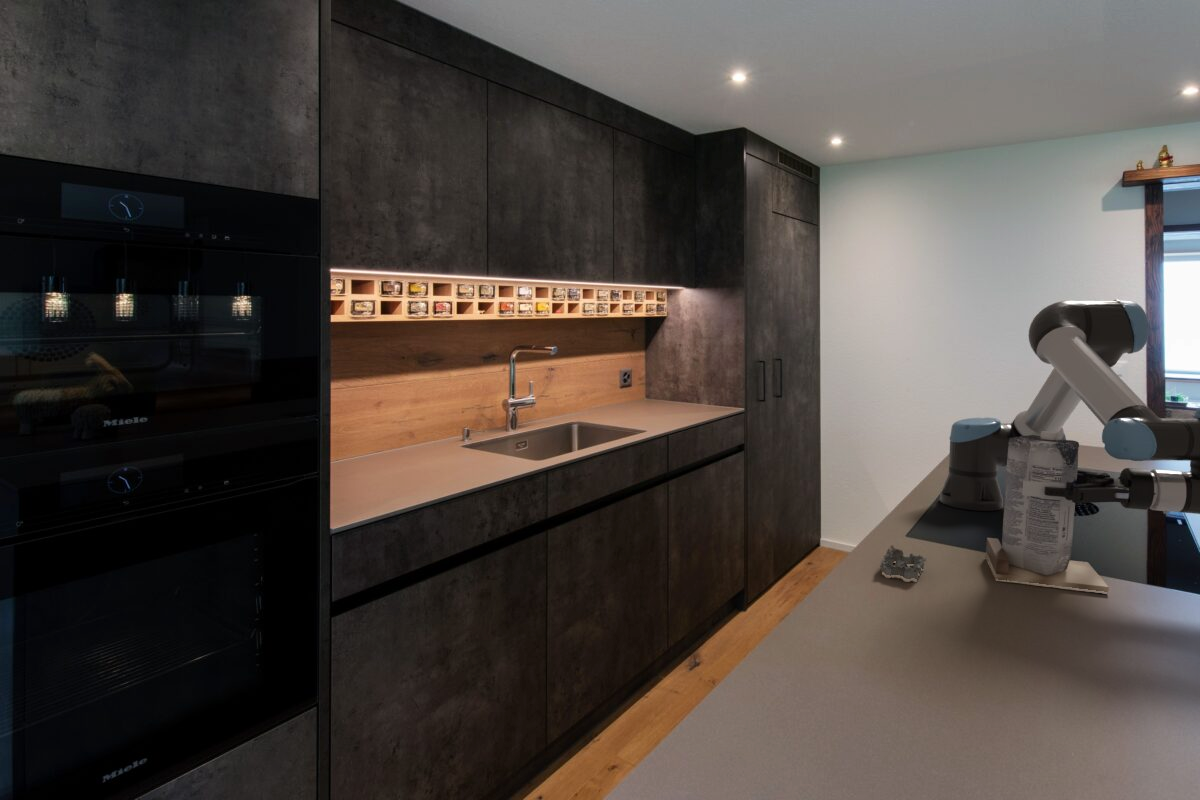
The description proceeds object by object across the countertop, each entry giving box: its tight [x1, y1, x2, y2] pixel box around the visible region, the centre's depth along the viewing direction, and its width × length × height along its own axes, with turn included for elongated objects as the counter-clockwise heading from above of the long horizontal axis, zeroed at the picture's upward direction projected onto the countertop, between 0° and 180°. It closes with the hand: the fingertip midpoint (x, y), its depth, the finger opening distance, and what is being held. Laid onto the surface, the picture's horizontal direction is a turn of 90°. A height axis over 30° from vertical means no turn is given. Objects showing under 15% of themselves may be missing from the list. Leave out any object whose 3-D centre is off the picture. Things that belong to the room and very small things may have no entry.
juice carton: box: [1001, 431, 1080, 576], centre depth 134 cm, size 9×10×27 cm
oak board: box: [985, 551, 1109, 593], centre depth 135 cm, size 18×14×2 cm
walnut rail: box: [985, 537, 1009, 575], centre depth 138 cm, size 2×14×3 cm, turn 158°
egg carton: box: [879, 544, 928, 579], centre depth 137 cm, size 11×8×4 cm
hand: (1016, 480), depth 135 cm, fingers open, 13 cm apart
